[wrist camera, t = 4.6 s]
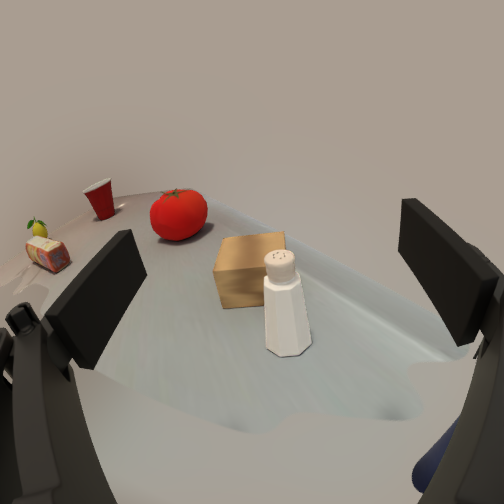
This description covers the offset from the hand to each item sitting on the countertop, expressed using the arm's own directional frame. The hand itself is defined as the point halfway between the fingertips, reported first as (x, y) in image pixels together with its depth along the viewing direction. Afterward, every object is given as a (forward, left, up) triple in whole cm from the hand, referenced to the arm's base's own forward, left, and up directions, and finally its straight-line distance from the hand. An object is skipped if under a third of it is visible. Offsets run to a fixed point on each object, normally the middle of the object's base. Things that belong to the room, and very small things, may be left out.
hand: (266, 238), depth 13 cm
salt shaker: (0, -11, -18) cm, 21 cm away
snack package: (+60, -38, -18) cm, 73 cm away
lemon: (+79, -54, -18) cm, 97 cm away
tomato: (+21, -43, -18) cm, 51 cm away
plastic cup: (+57, -67, -18) cm, 90 cm away
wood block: (+4, -22, -18) cm, 29 cm away
